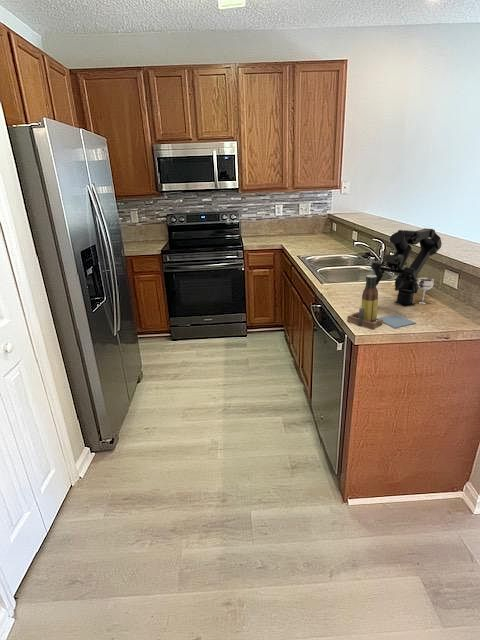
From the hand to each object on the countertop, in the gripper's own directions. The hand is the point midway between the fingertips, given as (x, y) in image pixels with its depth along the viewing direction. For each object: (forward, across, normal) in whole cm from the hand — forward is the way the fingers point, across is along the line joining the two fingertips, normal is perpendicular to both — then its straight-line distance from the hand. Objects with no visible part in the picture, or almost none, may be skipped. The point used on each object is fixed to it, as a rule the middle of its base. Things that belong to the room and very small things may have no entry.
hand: (385, 288), depth 156 cm
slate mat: (+11, +8, +6) cm, 15 cm away
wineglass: (-8, +5, +29) cm, 31 cm away
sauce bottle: (+17, 0, 0) cm, 17 cm away
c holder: (+18, 0, -2) cm, 18 cm away
